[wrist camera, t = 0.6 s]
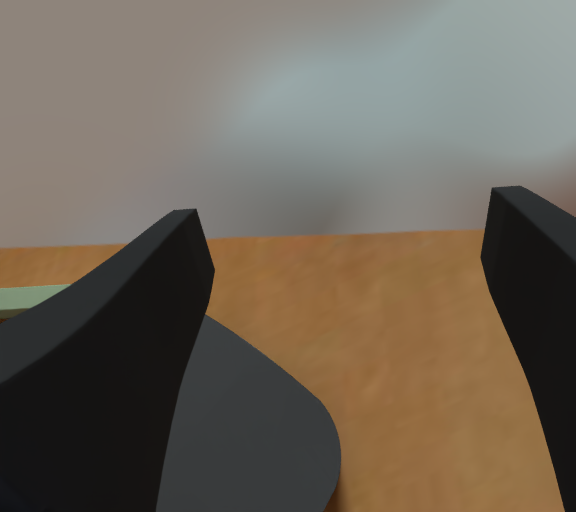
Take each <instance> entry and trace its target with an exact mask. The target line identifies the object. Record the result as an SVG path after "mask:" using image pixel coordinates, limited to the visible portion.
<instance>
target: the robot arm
mask: <svg viewBox="0 0 576 512" xmlns="http://www.w3.org/2000/svg"><path fill="white" fill-rule="evenodd" d="M481 261H482V265H483V269H484V273H485V277H486V281H487V284H488V288H489V292H490V294H491V296H492V299H493V301H494V304H495V306H496V308H497V311H498V313H499V315H500V318H501V320H502V322H503V325H504V327H505V329H506V331H507V334H508V336H509V338H510V340H511V343H512V345H513V347H514V350H515V352H516V354H517V356H518V359H519V361H520V363H521V366H522V368H523V370H524V373H525V375H526V378H527V381H528V383H529V386H530V389H531V392H532V395H533V399H534V402H535V405H536V408H537V412H538V415H539V418H540V421H541V425H542V428H543V431H544V435H545V439H546V442H547V446H548V449H549V453H550V456H551V460H552V463H553V467H554V471H555V474H556V478H557V482H558V486H559V490H560V494H561V498H562V502H563V506H564V510H565V512H576V217H574V216H572V215H570V214H569V213H567V212H565V211H564V210H562V209H560V208H559V207H557V206H555V205H554V204H552V203H550V202H549V201H547V200H545V199H544V198H542V197H540V196H538V195H537V194H535V193H533V192H532V191H530V190H528V189H526V188H524V187H522V186H510V187H495V188H492V190H491V196H490V202H489V208H488V214H487V221H486V227H485V233H484V239H483V245H482V251H481ZM214 273H215V269H214V265H213V262H212V259H211V255H210V252H209V249H208V246H207V242H206V239H205V236H204V233H203V229H202V226H201V223H200V219H199V216H198V213H197V209H183V210H173V211H172V212H170V213H169V214H167V215H166V216H164V217H163V218H161V219H160V220H159V221H157V222H156V223H155V224H153V226H151V227H150V228H149V229H147V230H146V231H144V232H143V233H142V234H141V235H139V236H138V237H137V238H136V239H134V240H133V241H132V242H130V243H129V244H128V245H126V246H125V247H124V248H123V249H121V250H120V251H119V252H117V253H116V254H115V255H113V256H112V257H110V258H109V259H108V260H106V261H105V262H103V263H102V264H101V265H99V266H98V267H96V268H95V269H94V270H92V271H91V272H89V273H88V274H87V275H85V276H84V277H82V278H81V279H79V280H78V281H76V282H74V283H73V284H71V285H70V286H68V287H67V288H65V289H63V290H61V291H60V292H58V293H56V294H55V295H53V296H51V297H50V298H48V299H46V300H44V301H43V302H41V303H39V304H37V305H35V306H33V307H31V308H29V309H27V310H26V311H24V312H22V313H20V314H18V315H16V316H14V317H12V318H10V319H8V320H6V321H4V322H2V323H0V512H156V506H157V501H158V495H159V489H160V483H161V477H162V471H163V465H164V460H165V455H166V450H167V445H168V440H169V435H170V430H171V425H172V421H173V416H174V412H175V407H176V403H177V399H178V394H179V390H180V386H181V383H182V380H183V376H184V373H185V370H186V367H187V364H188V362H189V359H190V356H191V353H192V350H193V347H194V345H195V342H196V339H197V336H198V333H199V330H200V327H201V324H202V322H203V319H204V316H205V313H206V310H207V307H208V304H209V300H210V295H211V290H212V284H213V278H214Z"/></svg>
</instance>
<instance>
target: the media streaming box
mask: <svg viewBox="0 0 576 512" xmlns="http://www.w3.org/2000/svg"><path fill="white" fill-rule="evenodd" d="M340 465H341V449H340V442H339V437H338V433H337V430H336V427H335V424H334V422H333V420H332V418H331V416H330V414H329V412H328V411H327V409H326V408H325V406H324V405H323V404H322V402H321V401H320V400H319V399H317V398H316V397H315V396H314V395H313V394H312V393H311V392H310V391H308V390H307V389H306V388H305V387H304V386H303V385H301V384H300V383H299V382H298V381H297V380H295V379H294V378H293V377H292V376H291V375H289V374H288V373H287V372H286V371H285V370H283V369H282V368H281V367H280V366H278V365H277V364H276V363H274V362H273V361H272V360H271V359H269V358H268V357H267V356H265V355H264V354H263V353H261V352H260V351H259V350H257V349H256V348H255V347H253V346H252V345H251V344H249V343H248V342H246V341H245V340H244V339H242V338H241V337H239V336H238V335H236V334H235V333H233V332H232V331H231V330H229V329H228V328H226V327H224V326H223V325H221V324H220V323H218V322H217V321H215V320H214V319H212V318H210V317H209V316H207V315H205V316H204V319H203V322H202V324H201V327H200V330H199V333H198V336H197V339H196V342H195V345H194V347H193V350H192V353H191V356H190V359H189V362H188V364H187V367H186V370H185V373H184V376H183V380H182V383H181V386H180V390H179V394H178V399H177V403H176V407H175V412H174V416H173V421H172V425H171V430H170V435H169V440H168V445H167V450H166V455H165V460H164V465H163V471H162V477H161V483H160V489H159V495H158V501H157V506H156V512H323V511H324V509H325V507H326V505H327V503H328V501H329V499H330V498H331V496H332V494H333V492H334V490H335V488H336V485H337V482H338V478H339V473H340Z"/></svg>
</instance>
